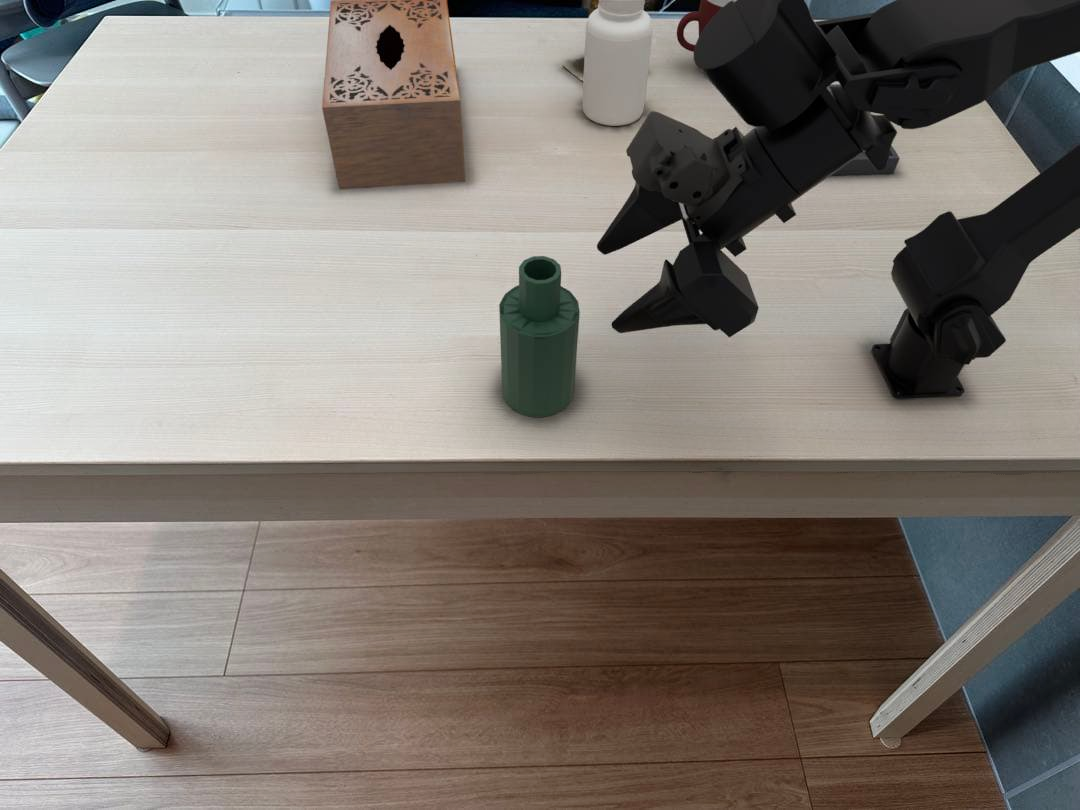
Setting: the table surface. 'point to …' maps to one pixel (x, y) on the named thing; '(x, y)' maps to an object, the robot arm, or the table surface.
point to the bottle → (538, 340)
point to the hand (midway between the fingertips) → (607, 287)
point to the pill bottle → (616, 62)
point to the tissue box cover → (392, 94)
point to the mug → (699, 19)
